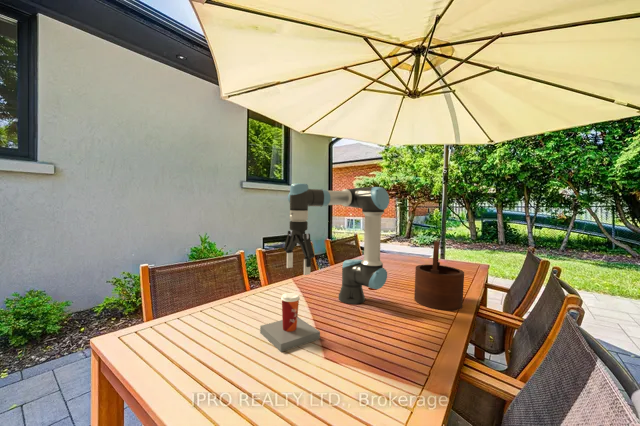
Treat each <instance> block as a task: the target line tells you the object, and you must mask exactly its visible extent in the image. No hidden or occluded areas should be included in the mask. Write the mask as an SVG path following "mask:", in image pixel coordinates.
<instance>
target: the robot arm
mask: <svg viewBox="0 0 640 426" xmlns="http://www.w3.org/2000/svg"><path fill="white" fill-rule="evenodd" d="M287 201H288V203H289V220H290V221H289V230H287V236H286V239H285V243H284V246H283V250H284V251H285V253H286V269H289V268H294V266H293V265H294V248H295V246H296V245H297V244H298V245H299V246H300V248H301V251H302V253H303V256H304V258H303V276H308V275H311V265H312V259H313V258H315V252H314V248H313V244H312V239H311V234H310V233H306V231H307V230H309V229H308V227H309V225H308V224H309V223H308V219H309V207H320V208H321V207H326V206H343V207H351V208H354V209H355V208H356V209H362V210H361V212H362V214H363V215H364V236H363V237H364V240H363V241H364V243H363V259H358V258H357V259H356V258H355V259H352V258H351V259H345V260H344V261H343V262H342V267H341V268H342V270H341V288H340V290H339V293H338V300H339V302H341V303H344V304H350V305H358V304H362V303H364V302H365V300H366V299H365V298H366V297H365V296H366V295H365V294H364V293H365V292H364V288H363V286H364V287H366V288H370V289H374V290H380V289H382V288H383V286H384V285H385V284H386V282H387V279H388V271H387V269H385V268H384V262H382V261H381V235H382V229H381V228H382V215H383V214H384V213H385V210H386V209H387V208H388V207H389V204H390V197H389V192H387V190H386V189H385V188H384V187H381V186H380V187H379V186H369V187H368V186H367V187H361V186H360V187H354V188H353V187H352V188H344V189H342V190H328V189H327V190H326V189H323V188H321V189H319V188H318V189H317V188H313V189H312V188H309V185H308V183H297V182H295V183H292V184H290V187H289V193H288V195H287Z"/></svg>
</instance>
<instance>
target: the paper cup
mask: <svg viewBox="0 0 640 426" xmlns="http://www.w3.org/2000/svg"><path fill="white" fill-rule="evenodd" d="M280 299H281V316H282V319H281V320H283V330H284V331H287V332H292V331H295V330H296V327H297V317H298V315H299V302H300V299H301V298H300V295H299V293H295V292H286V293H283V294H282V295H281V298H280Z"/></svg>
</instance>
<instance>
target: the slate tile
mask: <svg viewBox="0 0 640 426" xmlns="http://www.w3.org/2000/svg"><path fill="white" fill-rule="evenodd" d="M259 327H260V329H259V332H260V333H259V334H261V335H262V336H263V337H264V338H266V340H268V342H270V343H271V344H272V346H274V348H276V349H277V351H279V352H280V353H282V352H285V351H288V350H291V349H294V348H297V347H300V346H303V345H306V344H308V343H312V342H314V341H318V340H320V339H321V331H320V330H318V329H317V328H316V327H314V326H312V325H311V324H309V323H308V322H306V321H305V320H303V319H301V318H300V317H297V327H296V330H295V331H292V332H287V331H284V330H283V320H282V319H281V320H277V321H274V322H270V323H266V324H262V325H260V326H259Z"/></svg>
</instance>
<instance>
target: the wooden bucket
mask: <svg viewBox="0 0 640 426" xmlns="http://www.w3.org/2000/svg"><path fill="white" fill-rule="evenodd" d="M433 243H434V244H433V252H432V255H433V256H432V264H419V265H416V266H415V271H414V272H415V276H414V293H413V294H414V295H413V296H414V297H413V299H414V302H415V303H417V304H419V305H420V306H422V307H425V308H428V309H433V310H435V311H436V310H437V311H442V312H443V311H447V312H449V311H450V312H454V311H459V310H462V308H463V306H464V305H463V303H464V287H465V286H464V283H465V271H464V270H462V269H459V268H456V267H452V266H447V265H442V264H441V262H440V261H439V256H440V255H439V254H440V253H439V252H440V241H434V242H433Z"/></svg>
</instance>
